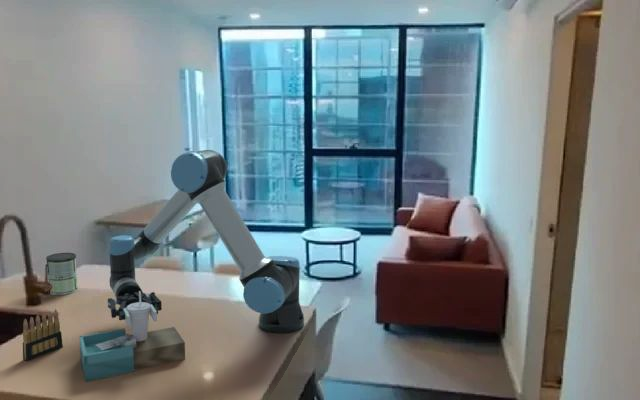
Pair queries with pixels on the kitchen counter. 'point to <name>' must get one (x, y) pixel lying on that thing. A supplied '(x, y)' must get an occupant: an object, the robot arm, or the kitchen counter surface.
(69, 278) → the coffee can
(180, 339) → the olive-brown boxy piece
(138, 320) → the smoothie
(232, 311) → the kitchen counter surface
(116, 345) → the chip
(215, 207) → the robot arm
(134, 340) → the chip
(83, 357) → the tray
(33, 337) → the ammunition clip
